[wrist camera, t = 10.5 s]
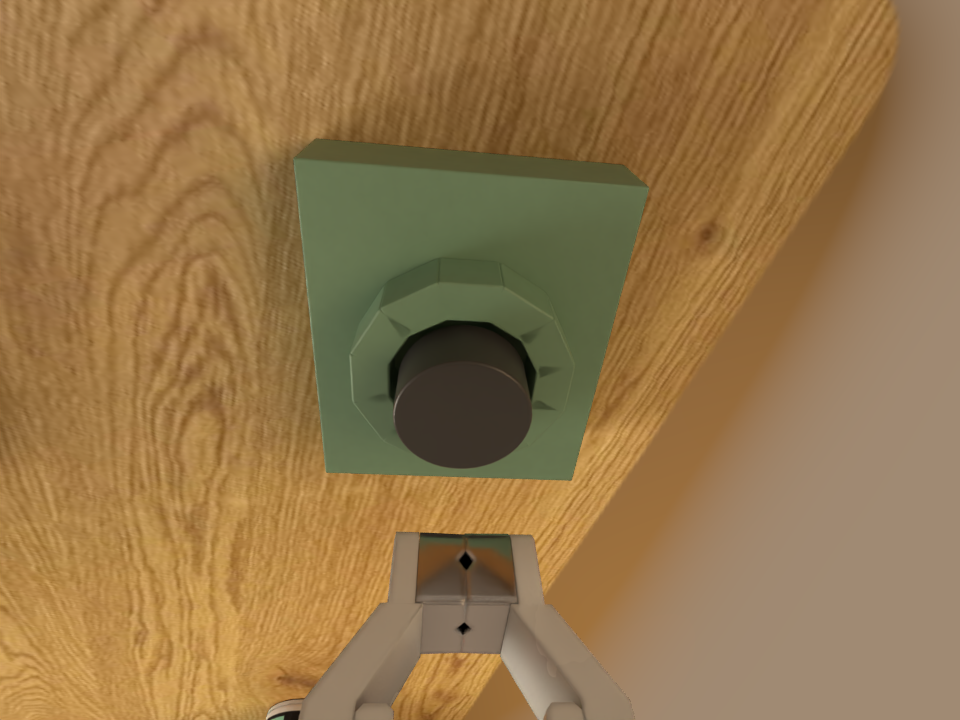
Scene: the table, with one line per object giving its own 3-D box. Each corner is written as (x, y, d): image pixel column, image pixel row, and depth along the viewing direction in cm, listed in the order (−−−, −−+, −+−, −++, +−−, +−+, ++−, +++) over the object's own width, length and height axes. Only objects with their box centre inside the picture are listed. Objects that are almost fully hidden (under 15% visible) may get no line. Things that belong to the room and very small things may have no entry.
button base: (314, 138, 16) (273, 174, 12) (624, 164, 17) (672, 206, 13) (338, 428, 23) (315, 509, 19) (560, 437, 24) (580, 516, 20)
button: (399, 319, 15) (391, 358, 14) (533, 327, 16) (542, 365, 14) (398, 423, 17) (392, 468, 16) (516, 428, 18) (522, 472, 16)
